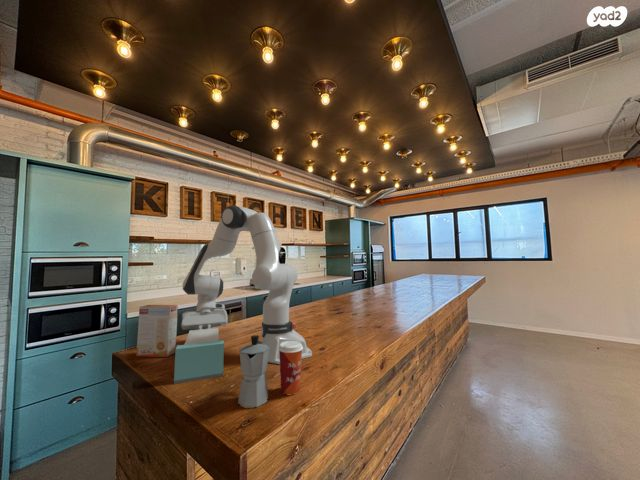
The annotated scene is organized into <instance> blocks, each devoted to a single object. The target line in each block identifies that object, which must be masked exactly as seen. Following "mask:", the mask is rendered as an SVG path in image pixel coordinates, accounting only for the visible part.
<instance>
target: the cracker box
mask: <svg viewBox="0 0 640 480" xmlns="http://www.w3.org/2000/svg"><path fill="white" fill-rule="evenodd" d="M178 307H179V306H178V304H146V305H141V306H139V309H138V310H139V311H138V324H137V325H138V326H137V328H138V329H137V339H136V340H137V342H136V354H135V355H136V357H147V358H151V357H153V358H168V357H169V356H171V355H174V354H175V351H176V347H177V331H178V330H177V329H178Z"/></svg>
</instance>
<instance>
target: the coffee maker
mask: <svg viewBox="0 0 640 480" xmlns="http://www.w3.org/2000/svg"><path fill="white" fill-rule="evenodd" d="M250 339H251V343H250V344H246V345H244V346H243V347H240V348H239V358H240V359H239V360H240V370H241V373H242V378H241V382H240V388H239V395H238V402H237V405H238V404H240V405H242V406H243V407H247V408H250V407H252V408H250V409H255V408H254V407H258V406H260V405H262V404H264V403H266V402H267V403H268V400H267V399H269V392H268V383H267V378H266V377H267V376H266V372H267V370H268V363H269V362H268V357H269V350H270V348H269V347H268V346H267V345H264V344H262V340H261V341H259V339H260V336H259V335H258V334H256V335H251V336H250ZM267 403H266V404H267ZM264 405H265V404H264ZM262 406H263V405H262ZM260 407H261V406H260ZM258 408H259V407H258Z"/></svg>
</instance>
